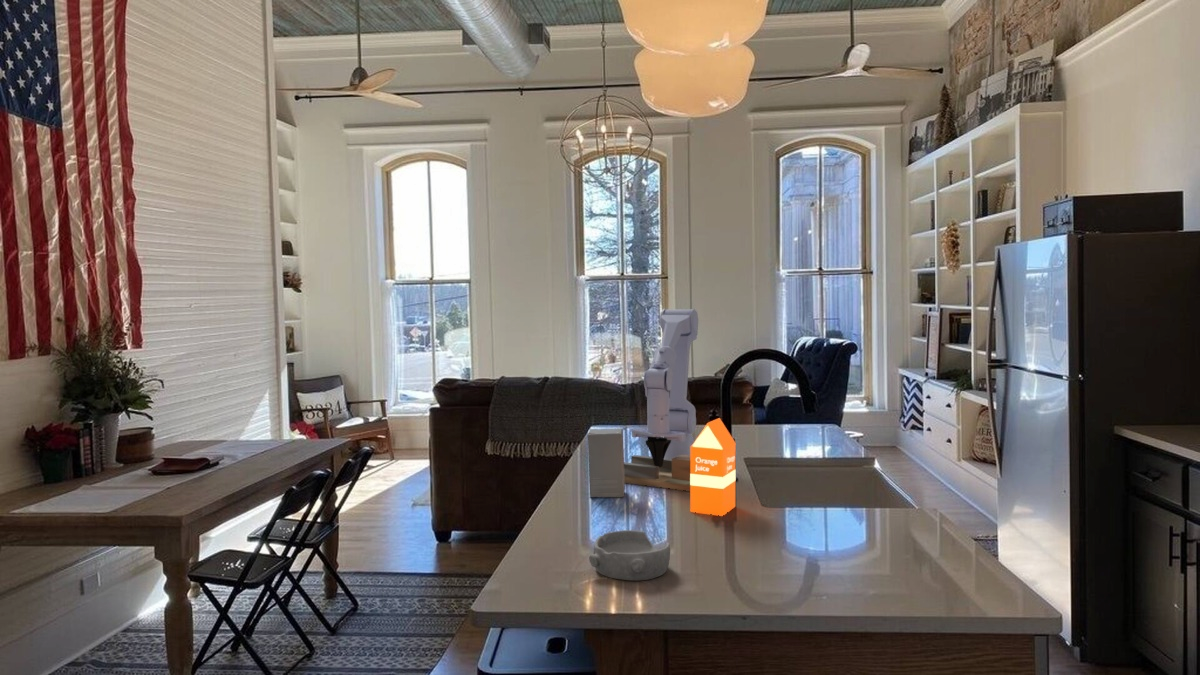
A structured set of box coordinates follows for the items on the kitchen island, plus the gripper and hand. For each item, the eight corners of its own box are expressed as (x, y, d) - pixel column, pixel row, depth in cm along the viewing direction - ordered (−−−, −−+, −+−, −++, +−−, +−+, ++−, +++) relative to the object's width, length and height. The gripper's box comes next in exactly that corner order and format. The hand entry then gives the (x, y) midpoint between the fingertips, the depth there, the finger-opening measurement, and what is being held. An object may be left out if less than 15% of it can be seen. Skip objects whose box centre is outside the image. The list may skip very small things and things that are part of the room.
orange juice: (689, 511, 174) (689, 422, 173) (703, 502, 181) (703, 416, 180) (723, 516, 170) (723, 424, 169) (736, 506, 178) (736, 418, 177)
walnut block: (681, 473, 204) (681, 454, 203) (699, 475, 201) (699, 456, 201) (671, 478, 198) (671, 458, 198) (690, 480, 196) (690, 460, 196)
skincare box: (625, 491, 192) (624, 427, 191) (623, 499, 185) (622, 432, 184) (590, 491, 192) (590, 427, 192) (587, 498, 185) (587, 432, 185)
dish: (624, 551, 148) (624, 525, 147) (686, 567, 139) (686, 539, 139) (573, 572, 136) (573, 544, 136) (637, 591, 128) (637, 561, 127)
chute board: (630, 469, 216) (630, 453, 216) (711, 479, 204) (711, 462, 203) (604, 480, 204) (604, 463, 203) (689, 491, 192) (689, 473, 191)
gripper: (626, 414, 203) (626, 466, 204) (677, 419, 196) (677, 472, 196) (638, 411, 209) (639, 461, 210) (688, 415, 202) (688, 467, 203)
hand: (658, 466), depth 204 cm, fingers closed
